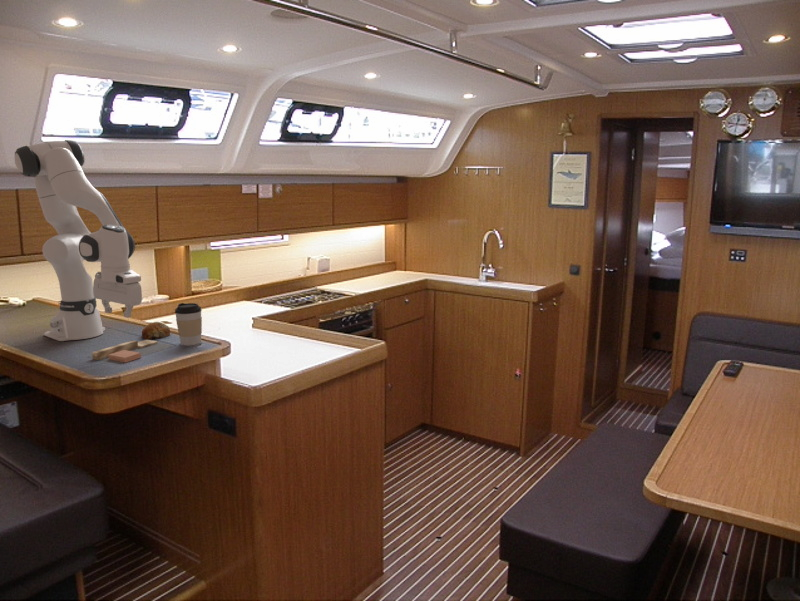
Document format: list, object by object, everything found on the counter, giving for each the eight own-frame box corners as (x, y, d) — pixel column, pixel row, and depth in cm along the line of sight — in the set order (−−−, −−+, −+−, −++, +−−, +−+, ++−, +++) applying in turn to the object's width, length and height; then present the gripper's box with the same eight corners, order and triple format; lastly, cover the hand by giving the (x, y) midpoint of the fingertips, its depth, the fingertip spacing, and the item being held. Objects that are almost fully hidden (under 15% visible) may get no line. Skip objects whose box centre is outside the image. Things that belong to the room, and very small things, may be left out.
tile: (108, 354, 210) (124, 357, 206) (124, 349, 215) (140, 352, 211) (109, 359, 210) (125, 362, 207) (124, 354, 215) (140, 357, 212)
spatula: (100, 360, 209) (99, 353, 208) (89, 358, 212) (88, 351, 211) (157, 343, 229) (157, 336, 228) (147, 341, 231) (146, 335, 231)
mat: (87, 360, 214) (87, 357, 213) (144, 343, 233) (144, 340, 233) (119, 366, 206) (119, 363, 206) (176, 348, 226) (176, 345, 225)
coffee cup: (210, 343, 231) (206, 302, 228) (192, 350, 223) (188, 307, 220) (190, 341, 235) (186, 300, 232) (172, 347, 227) (168, 305, 223)
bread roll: (173, 345, 243) (176, 324, 245) (161, 340, 233) (164, 319, 235) (148, 345, 244) (151, 324, 246) (135, 340, 234) (138, 319, 236)
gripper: (86, 272, 217) (89, 312, 220) (128, 279, 207) (130, 321, 210) (103, 269, 222) (105, 308, 225) (144, 277, 213) (146, 317, 216)
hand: (117, 314), depth 218 cm, fingers open, 8 cm apart
